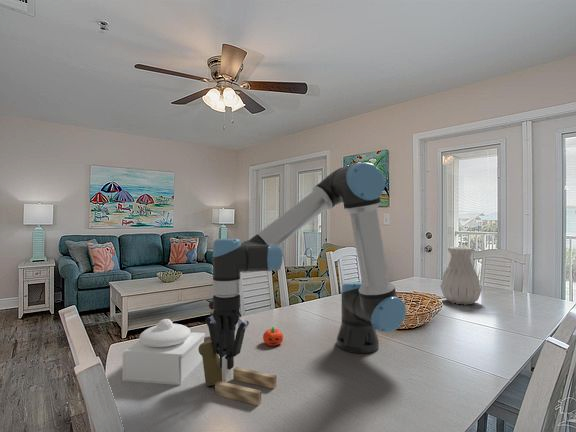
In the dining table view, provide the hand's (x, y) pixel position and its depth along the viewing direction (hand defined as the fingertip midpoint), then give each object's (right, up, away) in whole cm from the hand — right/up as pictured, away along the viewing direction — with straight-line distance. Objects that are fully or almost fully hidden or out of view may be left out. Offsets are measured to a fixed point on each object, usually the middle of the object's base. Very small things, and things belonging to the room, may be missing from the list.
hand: (226, 379), depth 94 cm
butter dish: (-20, -2, +10) cm, 23 cm away
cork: (-3, -1, +1) cm, 3 cm away
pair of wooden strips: (+6, -2, -2) cm, 6 cm away
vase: (+111, -2, +92) cm, 144 cm away
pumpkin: (+11, -2, +31) cm, 33 cm away
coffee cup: (-9, -2, +38) cm, 39 cm away
